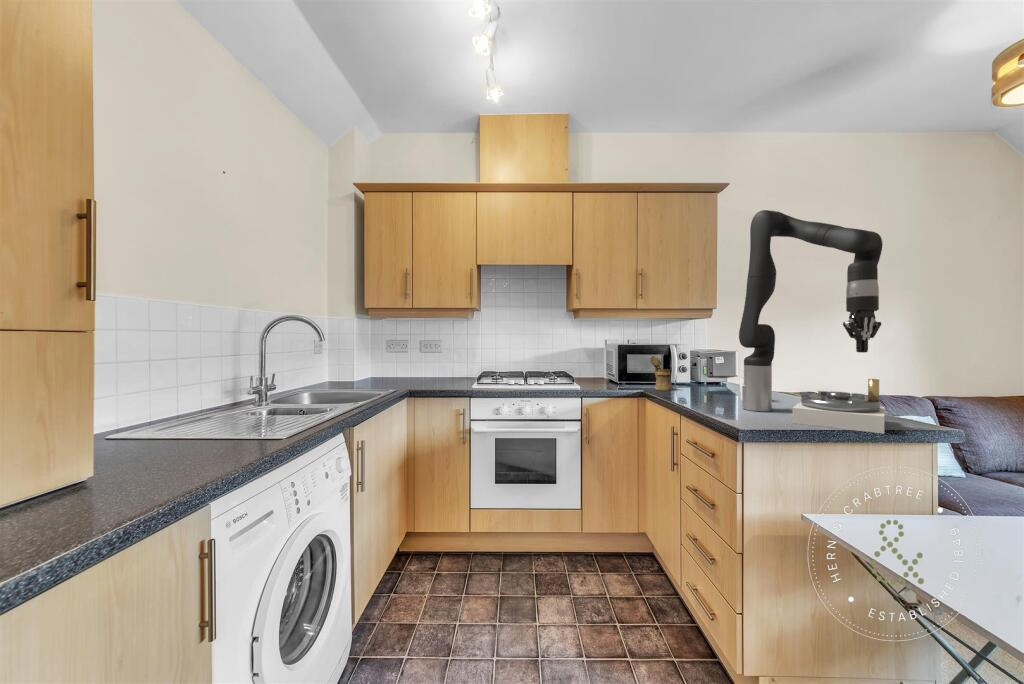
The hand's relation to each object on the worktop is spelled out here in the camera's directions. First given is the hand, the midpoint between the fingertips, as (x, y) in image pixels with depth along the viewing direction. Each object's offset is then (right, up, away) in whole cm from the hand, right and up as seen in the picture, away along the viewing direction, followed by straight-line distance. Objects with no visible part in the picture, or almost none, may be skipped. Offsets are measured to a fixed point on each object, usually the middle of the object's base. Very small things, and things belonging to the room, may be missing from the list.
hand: (862, 352), depth 122 cm
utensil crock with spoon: (-26, -23, +95) cm, 101 cm away
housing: (0, -23, +9) cm, 25 cm away
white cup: (-2, -23, +55) cm, 60 cm away
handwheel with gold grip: (0, -18, +9) cm, 20 cm away
